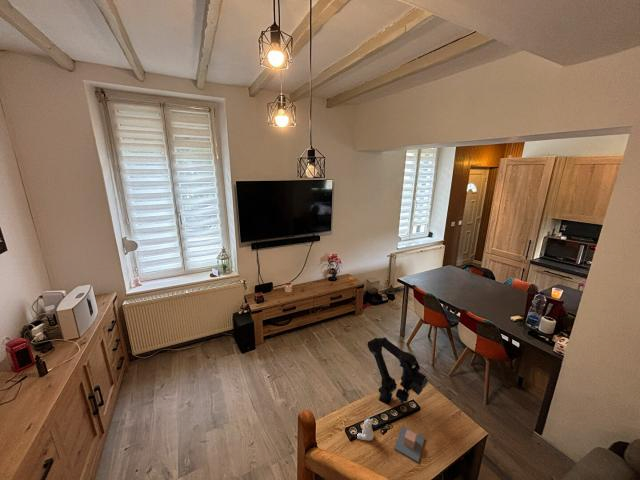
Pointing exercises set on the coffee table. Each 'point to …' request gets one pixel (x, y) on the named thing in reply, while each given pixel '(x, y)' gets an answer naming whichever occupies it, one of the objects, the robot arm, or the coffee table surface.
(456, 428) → the coffee table surface
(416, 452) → the charcoal mat
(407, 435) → the terracotta cube
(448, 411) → the coffee table surface
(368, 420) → the white creature statuette
